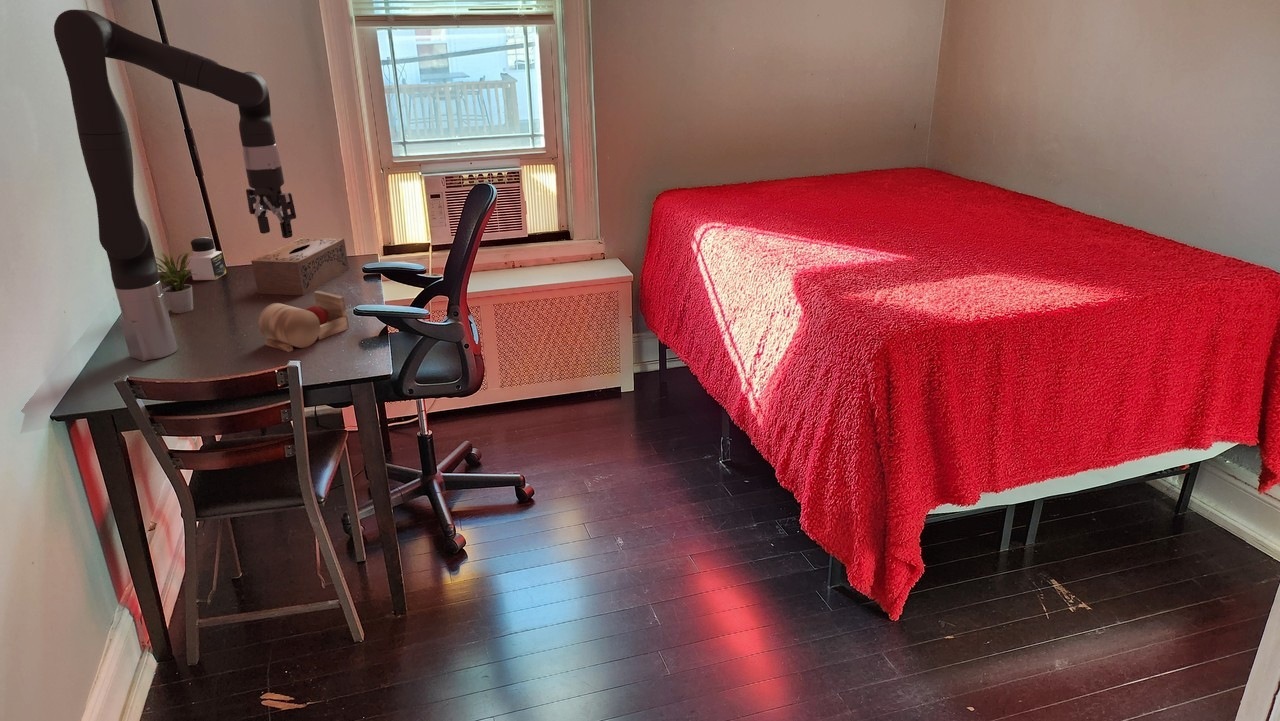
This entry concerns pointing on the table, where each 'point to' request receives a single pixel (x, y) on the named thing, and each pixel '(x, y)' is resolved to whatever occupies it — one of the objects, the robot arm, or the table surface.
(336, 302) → the pit walls
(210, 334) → the table surface
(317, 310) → the onion
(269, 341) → the roller
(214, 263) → the medicine bottle
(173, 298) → the house plant
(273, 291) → the tissue box cover
